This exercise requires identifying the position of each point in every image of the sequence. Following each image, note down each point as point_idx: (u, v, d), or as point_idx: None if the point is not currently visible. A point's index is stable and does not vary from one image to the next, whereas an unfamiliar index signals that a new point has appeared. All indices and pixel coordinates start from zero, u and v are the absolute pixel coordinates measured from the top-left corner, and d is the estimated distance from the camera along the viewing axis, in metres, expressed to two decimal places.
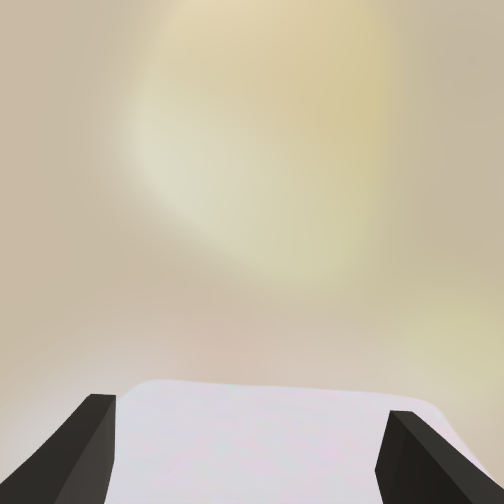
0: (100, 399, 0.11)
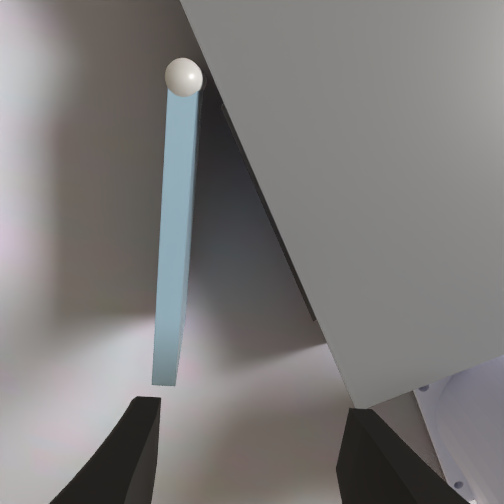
0: (147, 402, 0.11)
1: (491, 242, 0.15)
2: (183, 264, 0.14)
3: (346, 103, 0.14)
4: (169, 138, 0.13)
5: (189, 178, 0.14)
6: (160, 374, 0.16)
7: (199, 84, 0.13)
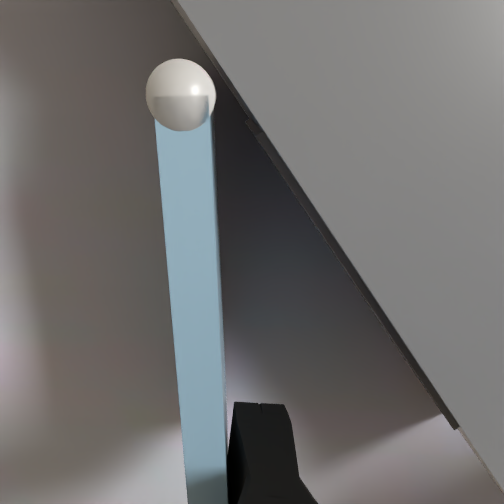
0: (274, 408, 0.11)
1: None
2: (221, 405, 0.09)
3: (482, 79, 0.07)
4: (170, 208, 0.07)
5: (214, 270, 0.08)
6: None
7: (212, 104, 0.07)
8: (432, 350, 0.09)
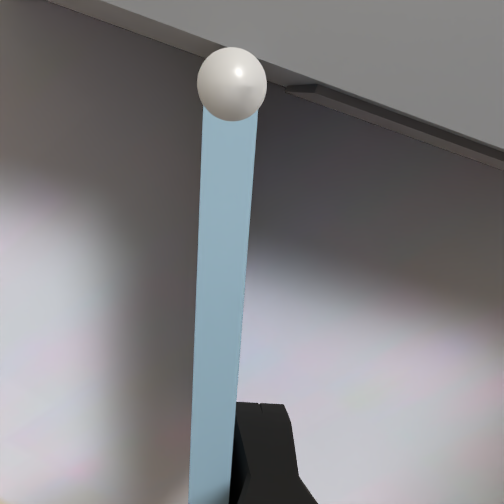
0: (274, 409, 0.11)
1: None
2: (234, 402, 0.08)
3: None
4: (207, 197, 0.07)
5: (244, 265, 0.08)
6: None
7: (263, 96, 0.07)
8: None
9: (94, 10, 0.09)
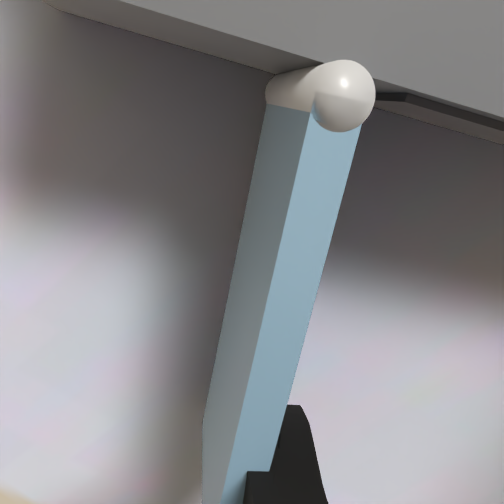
0: (291, 409, 0.11)
1: None
2: (282, 409, 0.08)
3: None
4: (296, 204, 0.07)
5: (319, 274, 0.08)
6: None
7: (369, 112, 0.07)
8: None
9: (170, 33, 0.09)
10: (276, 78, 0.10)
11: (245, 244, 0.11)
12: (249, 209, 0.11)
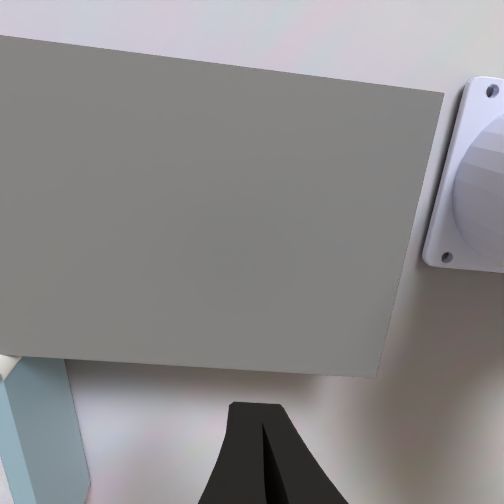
0: (246, 407, 0.11)
1: (278, 196, 0.14)
2: (35, 497, 0.17)
3: (76, 270, 0.15)
4: None
5: (18, 439, 0.16)
6: None
7: (3, 377, 0.15)
8: (194, 357, 0.16)
9: None
10: None
11: None
12: None
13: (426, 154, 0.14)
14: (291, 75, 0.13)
